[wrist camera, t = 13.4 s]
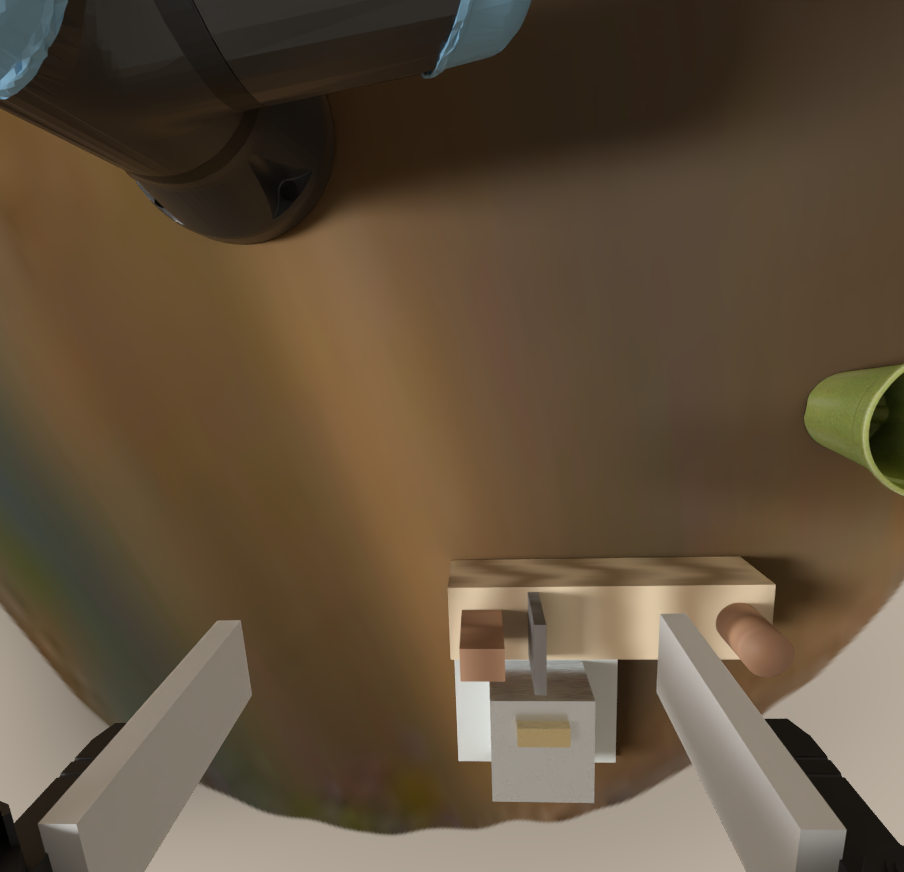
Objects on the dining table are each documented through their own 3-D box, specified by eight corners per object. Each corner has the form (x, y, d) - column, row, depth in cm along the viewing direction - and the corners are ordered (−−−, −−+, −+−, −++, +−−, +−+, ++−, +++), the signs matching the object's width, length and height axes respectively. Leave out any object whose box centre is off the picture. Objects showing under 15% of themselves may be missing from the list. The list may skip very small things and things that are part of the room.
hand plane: (453, 624, 43) (446, 705, 33) (451, 560, 42) (443, 624, 32) (735, 622, 42) (814, 706, 32) (739, 556, 41) (823, 622, 31)
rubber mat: (458, 753, 46) (458, 760, 45) (454, 645, 44) (454, 650, 43) (613, 755, 45) (615, 762, 44) (615, 644, 43) (618, 650, 42)
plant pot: (754, 406, 39) (832, 422, 30) (857, 322, 37) (970, 315, 29) (827, 492, 40) (923, 531, 31) (930, 413, 38) (1061, 432, 30)
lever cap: (488, 660, 43) (490, 708, 37) (581, 660, 42) (597, 708, 37) (491, 751, 44) (492, 810, 39) (581, 752, 44) (596, 812, 38)
